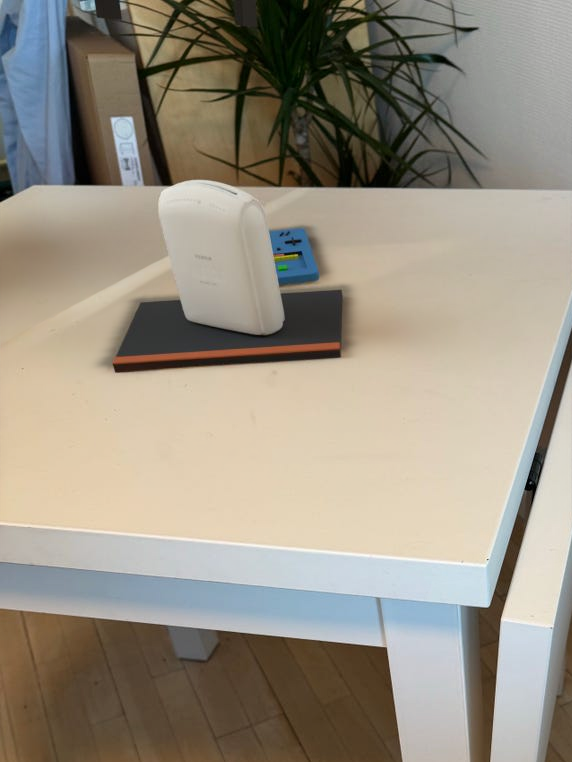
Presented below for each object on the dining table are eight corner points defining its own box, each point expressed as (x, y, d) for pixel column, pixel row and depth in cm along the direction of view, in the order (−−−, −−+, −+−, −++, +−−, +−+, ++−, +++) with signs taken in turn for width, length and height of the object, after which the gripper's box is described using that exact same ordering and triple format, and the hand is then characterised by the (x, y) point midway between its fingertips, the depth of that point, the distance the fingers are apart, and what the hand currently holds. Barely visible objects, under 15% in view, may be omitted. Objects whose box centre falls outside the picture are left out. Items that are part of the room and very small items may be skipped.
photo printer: (178, 323, 86) (142, 182, 78) (208, 306, 89) (176, 169, 80) (264, 342, 82) (236, 196, 74) (293, 324, 85) (269, 182, 77)
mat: (114, 372, 80) (111, 362, 80) (142, 309, 90) (140, 301, 90) (340, 357, 81) (339, 347, 81) (342, 297, 92) (341, 288, 91)
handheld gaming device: (303, 224, 105) (318, 269, 94) (305, 234, 105) (320, 280, 95) (231, 232, 103) (238, 279, 93) (233, 242, 104) (240, 290, 93)
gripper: (312, -300, 70) (324, 31, 81) (32, -293, 75) (80, 18, 86) (268, -337, 64) (287, 26, 75) (-34, -327, 68) (27, 13, 80)
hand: (177, 23), depth 81 cm, fingers open, 13 cm apart
